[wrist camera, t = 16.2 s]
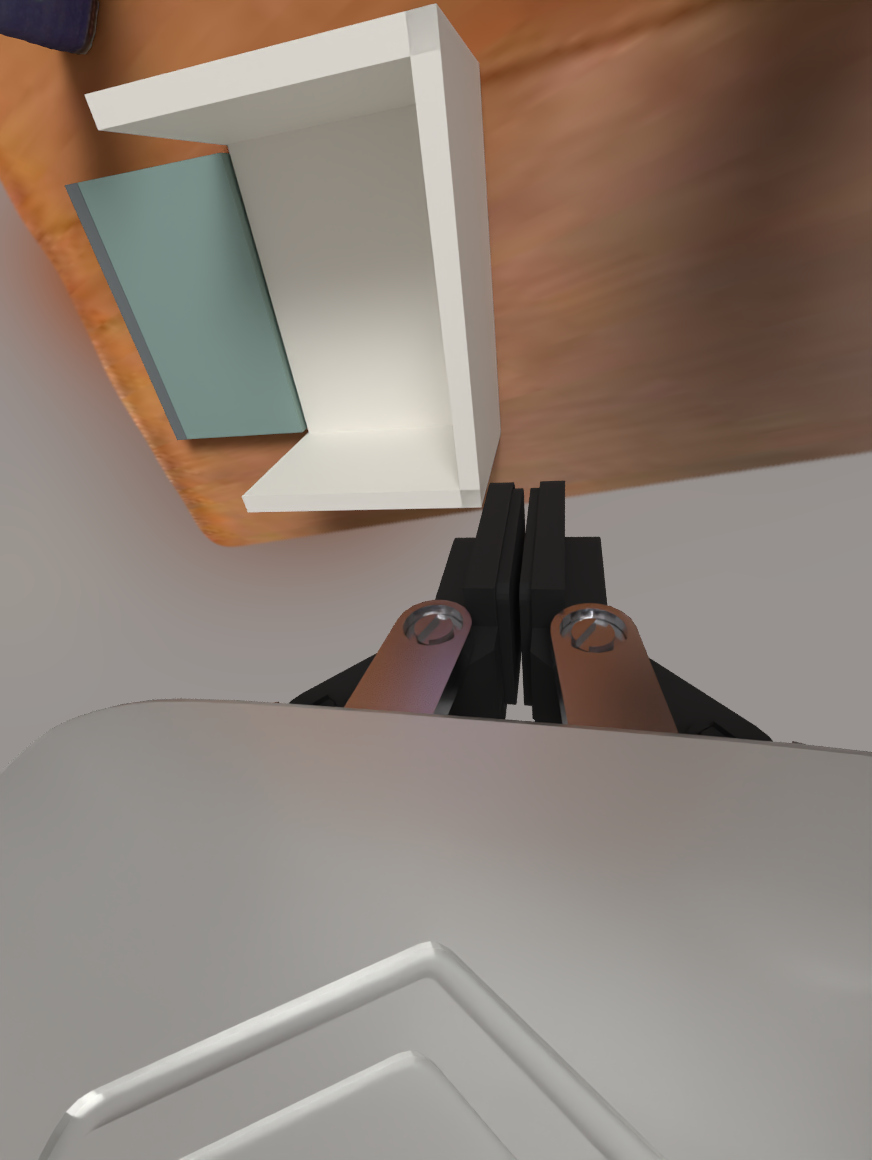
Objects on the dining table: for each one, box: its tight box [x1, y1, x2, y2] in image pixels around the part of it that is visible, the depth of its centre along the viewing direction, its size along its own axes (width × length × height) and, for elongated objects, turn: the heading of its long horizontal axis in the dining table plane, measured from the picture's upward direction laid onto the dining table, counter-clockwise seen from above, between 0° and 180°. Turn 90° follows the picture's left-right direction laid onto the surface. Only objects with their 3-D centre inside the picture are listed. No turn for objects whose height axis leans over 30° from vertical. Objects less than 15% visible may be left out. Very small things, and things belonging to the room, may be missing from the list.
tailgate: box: [65, 153, 307, 440], centre depth 39 cm, size 1×18×12 cm
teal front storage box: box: [85, 4, 501, 512], centre depth 32 cm, size 16×21×12 cm
